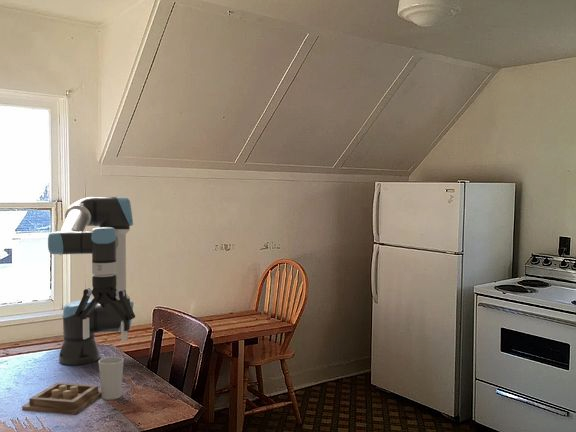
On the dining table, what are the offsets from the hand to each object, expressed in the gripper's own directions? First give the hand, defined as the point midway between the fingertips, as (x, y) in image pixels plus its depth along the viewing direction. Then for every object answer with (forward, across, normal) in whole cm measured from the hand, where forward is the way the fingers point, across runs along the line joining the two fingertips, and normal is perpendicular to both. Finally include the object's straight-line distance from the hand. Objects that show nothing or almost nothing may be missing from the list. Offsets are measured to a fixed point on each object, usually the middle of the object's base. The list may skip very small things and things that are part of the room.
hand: (105, 339), depth 188 cm
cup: (+19, +2, +1) cm, 19 cm away
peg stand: (+19, -11, -6) cm, 23 cm away
